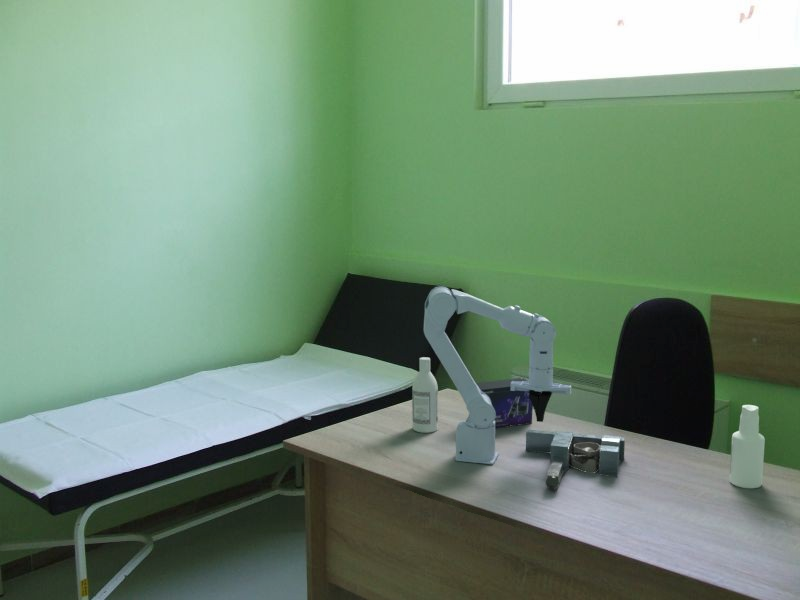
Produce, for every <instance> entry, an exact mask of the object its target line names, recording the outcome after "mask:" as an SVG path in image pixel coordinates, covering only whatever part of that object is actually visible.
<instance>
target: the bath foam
mask: <svg viewBox="0 0 800 600" xmlns="http://www.w3.org/2000/svg"><path fill="white" fill-rule="evenodd" d="M418 362H419V372H418V373H417V374H416V376H415V378H414V380H413V382H412V389H411V390H412V391H411V393H412V398H411V399H412V400H411V401H412V402H411V403H412V410H411V411H412V430H413V431H414V432H418V433H421V434H430V433H434V432H436V431H437V430H438V428H439V388H438V382H437V380H436V378H435V376H434V374H433V373H432V372H431V358H430V357H428V356H427V357H425V356H422V357H419V361H418Z"/></svg>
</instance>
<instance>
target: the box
mask: <svg viewBox="0 0 800 600" xmlns="http://www.w3.org/2000/svg"><path fill="white" fill-rule="evenodd" d="M512 381H529V379H526V378H525V377H515V378H509V379H500V380H490V381H483V382H482V381H480V382H475V383H476V384H477V385H478V387H479V389H480V390H481V391H482V392H483V393H485V394H487V395H488V396H489V398H490V400H491V403H492V406H493V408H494V409H495V412H496V417H495V429H499V427H501V428H505V426H508V427H511V426H510V425H515V426H519V425H518V424H523V425H527V424H526V423H529V424H532V423H533V409H534V407H533V405H532V403H531V401H530V399H529V391H519V390H515V391H511V382H512Z"/></svg>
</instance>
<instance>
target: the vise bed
mask: <svg viewBox="0 0 800 600" xmlns="http://www.w3.org/2000/svg"><path fill="white" fill-rule="evenodd" d="M555 433H556V431H549V430H541V429H540V430H539V429H529V428H528V429H526V431H525V451H526V450H527V451H526V452H534V451H536V453H544V452H551V443H552V441H553V438H554V436H555ZM587 442H592V443H597V444H599V445H600V447H601V449H600V458H599V463H598V464H599V473H598V474H601V475H600V476H607V475H608V476H609V477H618V473H619V466H620V461H624V460H625V449H626V448H625V447H626V446H625V445H626V444H625V443H626V438H625V437H621V435H620V436H619V435H608V434H603V435H597V434H595V435H593V434H583V433H574V432H573V441H572V454H573V456H574V455H585V454H583V453H582V454H581V453H574V444H578V443H587ZM538 451H539V452H538Z"/></svg>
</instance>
